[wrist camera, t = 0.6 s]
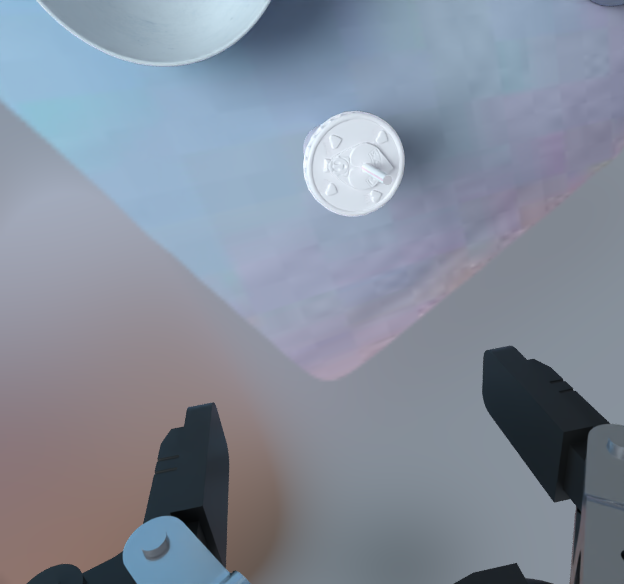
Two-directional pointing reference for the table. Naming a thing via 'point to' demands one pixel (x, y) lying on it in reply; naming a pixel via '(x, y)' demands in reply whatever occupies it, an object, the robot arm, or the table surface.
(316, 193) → the smoothie
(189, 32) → the chinaware
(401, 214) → the table surface
